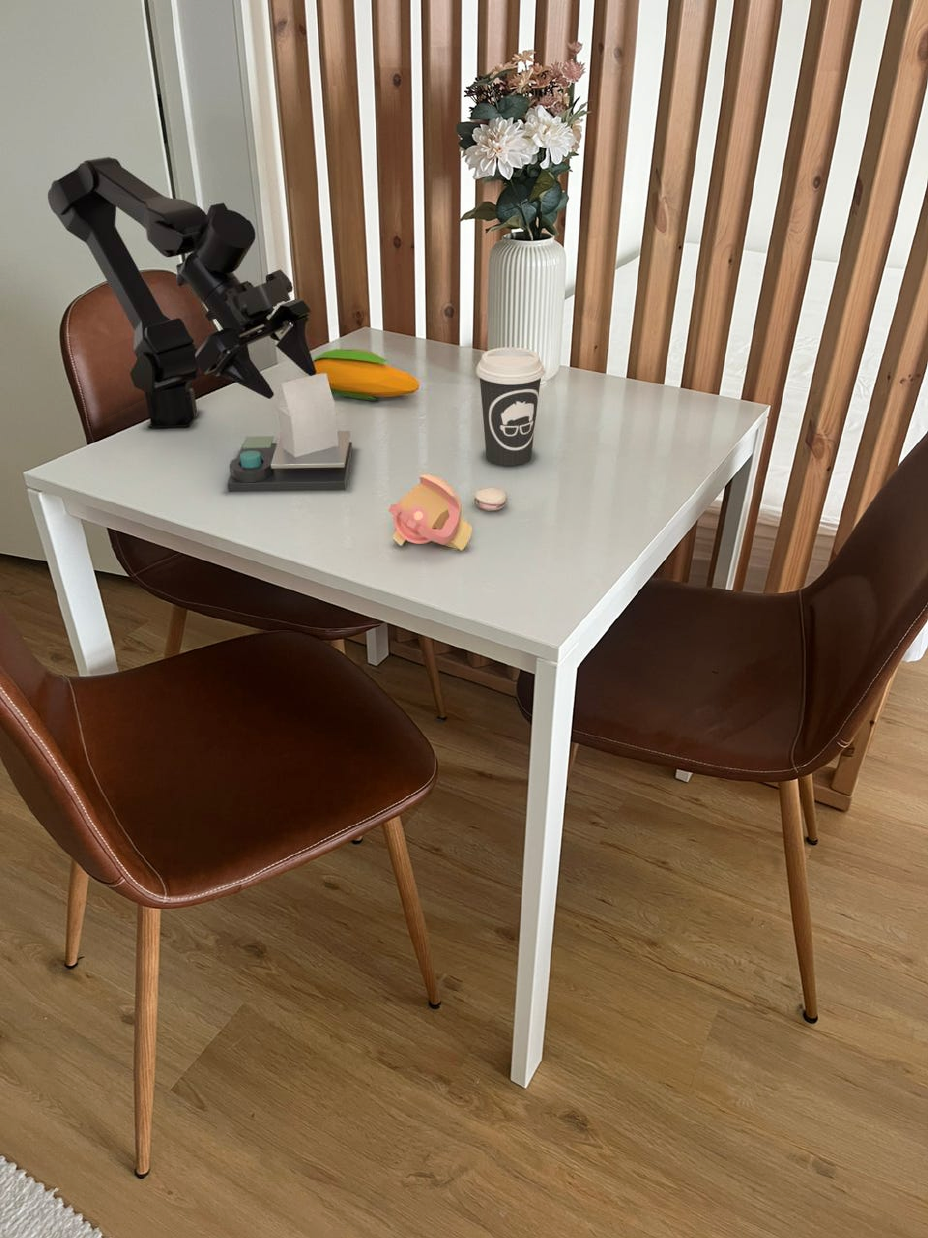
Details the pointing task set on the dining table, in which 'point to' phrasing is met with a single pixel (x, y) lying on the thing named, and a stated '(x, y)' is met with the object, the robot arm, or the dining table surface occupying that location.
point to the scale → (285, 475)
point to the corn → (363, 375)
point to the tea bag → (307, 415)
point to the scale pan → (313, 455)
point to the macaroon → (490, 498)
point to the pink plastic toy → (430, 515)
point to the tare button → (250, 459)
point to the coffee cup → (509, 403)
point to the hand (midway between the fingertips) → (293, 385)
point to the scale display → (258, 442)
